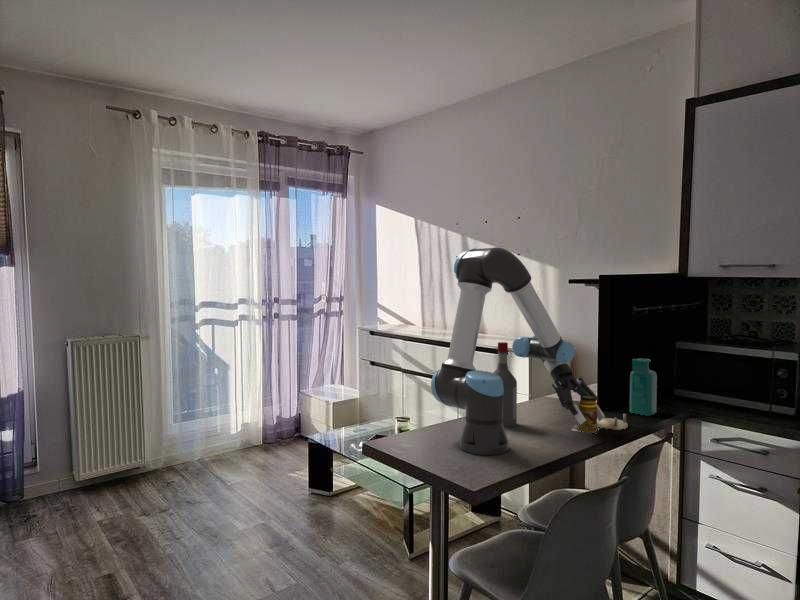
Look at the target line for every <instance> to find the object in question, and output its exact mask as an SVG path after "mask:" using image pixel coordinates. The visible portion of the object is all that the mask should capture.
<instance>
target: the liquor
mask: <svg viewBox="0 0 800 600" xmlns="http://www.w3.org/2000/svg"><path fill="white" fill-rule="evenodd" d="M508 352H509V345H508V342H507V341H505V342H502V341H500V342H497V367H496V369H495V370H494V371H493V373H494V374H497V375H499V376H500V377H501V378H502V380H503V388H504V399H503V426H504V428H514V427H516V425H517V419H518V418H517V413H518V412H517V410H518V409H517V408H518V407H517V406H518V405H517V403H518V401H517V399H518V395H517V394H518V392H517V389H518V382H517V379H516V377H515V375H513V374H512V373H511V370H509V366H508Z"/></svg>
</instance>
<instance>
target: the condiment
mask: <svg viewBox="0 0 800 600" xmlns="http://www.w3.org/2000/svg"><path fill="white" fill-rule="evenodd" d="M579 397H580V401H579V404H578V405H579V406H578V409H579V410H580V412H581V413H582V415H583V416H584V418H585V419H586V421H585V422H584V423H583V424H581V425H580V424H579V423H578V425H577V424H576V425H574V426H573V427H574V428H575V429H574V428H572V429H570V431H573V432H580V433H584V432H596V431H597V429H598V431H599V430H600V428H598V427H597V405H596V403H597V400H596V397H594V396H588V395H585V396H579ZM576 427H578V428H579V429H578V428H577V429H578V430H580V431H578V430H577V429H576ZM581 431H582V432H581ZM595 434H597V433H595ZM595 434H594V435H595Z"/></svg>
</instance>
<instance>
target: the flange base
mask: <svg viewBox="0 0 800 600" xmlns="http://www.w3.org/2000/svg"><path fill="white" fill-rule="evenodd" d="M628 426H629V424H628V422H627V413H623V414H622V419H619V418H618V417H615V416H614V418H610V417H604V418H603V419H602V420H601V421H599V420H598V419H597V428H598V427H600V428H599V429H602V428H605V429H604V430H608V429H612V430H611V431H621V430H622V429H624V430H627V429H628V428H629V427H628ZM626 428H627V429H626Z"/></svg>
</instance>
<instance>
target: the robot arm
mask: <svg viewBox="0 0 800 600" xmlns="http://www.w3.org/2000/svg"><path fill="white" fill-rule="evenodd" d="M453 272H454V274H455V275H454V276H455V278H456V280H457V286H458V287H459V289H460V292H459V293H460V294H459V298H458V302H457V303H458V304H457V307H456V313H455V319H454V323H453V329H452V332H451V333H452V334H451V339H450V344H449V349H448V355H447V358H446V360H444V361H442V362H441V365H440V366H441V367H440V368H439V369H438V370H437V371H436V372H435V373H433V375H432V377H431V382H430V388H431V389H430V390H431V393H432V395H433V397H434V398H435V400H436V401H438V403H441V404H443V405H445V406H448V407H453V408H457V409H460V410H464V411H465V423H464V426H463V429H462V432H461V435H460V438H459V448H460V449H461V450H462V451H464V452H466V453H469V454H472V455H480V456H481V455H482V456H496V455H501V454H505V453H507V452H508V451H509V446H510V445H509V439H508V437H507V434H506V430H505V427H504V426H503V399H504V388H503V380H502V378H501V377H500V376H499V375H497V374H494V372H491V371H484V370H480V369H479V370H478V369H476V367H475V366H474V364H473V362H474V360H475V354H476V348H477V343H478V337H479V332H480V326H481V321H482V317H483V310H484V307H485V306H484V305H485V302H486V301H485V300H486V296H487V295H488V293H490V292H492V288H493V284H495V283H496V284H499V286H501V287H502V288H503V290H504V292H506V293H508V294H510V296H511V297H512V299H513V300H514V302H515V304H516V306H517V308H518V309H519V311H520V313H521V314H522V316H523V318H524V320H525V321H526V323H527V324H528V325H527V326H528V327H529V328H530V329H531V332H532V333H533V334H534V335H533V336H531V337H530V336H529V337H528V336H518V337H516V338H515V339H513V342H512V346H511V348H512V349H511V350H512V352H513V354H514V355H515V356H516V357H518V358H523V359H525V358H528V359H529V358H530V359H536V360H540V361H541V362H542V364H543V365H544V367H545V369H546V370H547V371H548V373H550V374H549V375H550V376H551V378H552V380H553V381H554V382H553V383H552V384H551V386H552V388H553V389H554V391H555V392H556V394H557V397H558V400H559V402H560V404H561V407H563V408H565V410H567V411H568V410H569V411H570V413H571V414H572V415H573V416H574V418H575V420H577V422H578V425H579V424H580V425H581V424H583V423H584V422H585V421H586V419H585V418H584V416H583V415H582V413H581V412H580V410H579V406H577V404H576V403H575V404H574V402H573V396H572V392H574V393H576V394H578V395H579V397H581V396H585V395H588V396H594V397H596V401H597V400H599V397H598V396H597V394H595V392H594V391H593V390H592V389H591V387H589V386H588V384H586V382H585V381H584V379H583V378H582V377H579V378H576V377H575V376H574V374H573V373H574V372H573V370H572V368H571V367H570V365H569V364H568V363H569V362H571V361H572V360H573V359H574V357H575V345H574V344H573V343H572V342H570V341H568V340H563V338H562V336H561V335H560V332H559V331H558V328H556V327H557V326H556V325H555V324H554V322H553V320H552V319H551V316H550V314H549V313H548V311H547V308H545V305H544V304H543V302H542V300H541V299H540V297H539V294H538V293H537V291H536V289H535V288H534V286H533V284H532V282H531V281H532V276H531V273H530V271H528V269H527V267H526V265H525V264H524V263H523V262H522V261H521V260H520V259H519V258H518V257H517V255H515V253H512V252H511V251H509V250H508V249H505V248H503V247H498V246H497V247H496V246H495V247H487V248H471V249H468V250H464V251H462V252H461V253H459V255H458V256H457V258H456V259H455V261H454V266H453ZM596 405H597V419H598V420H599V421H601V420H602V419H603V418H606V416H605V414H604V412H603V411H602V410H601V407H600V405H599V404H598V403H597V402H596Z"/></svg>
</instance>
